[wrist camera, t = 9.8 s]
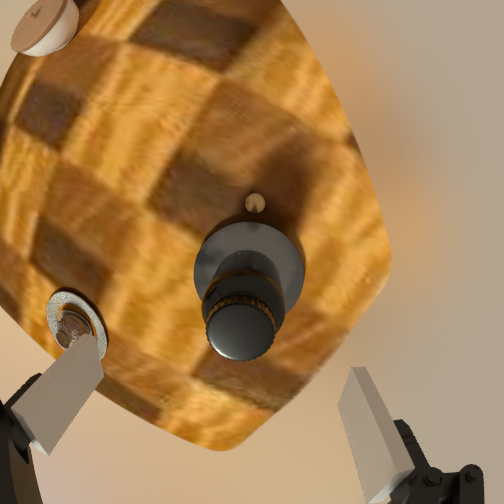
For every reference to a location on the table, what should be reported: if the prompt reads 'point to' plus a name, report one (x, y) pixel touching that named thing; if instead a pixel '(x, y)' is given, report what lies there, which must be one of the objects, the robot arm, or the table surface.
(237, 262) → the supplement bottle
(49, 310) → the grey ring with stone
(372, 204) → the table surface
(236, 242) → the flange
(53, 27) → the lidded jar
